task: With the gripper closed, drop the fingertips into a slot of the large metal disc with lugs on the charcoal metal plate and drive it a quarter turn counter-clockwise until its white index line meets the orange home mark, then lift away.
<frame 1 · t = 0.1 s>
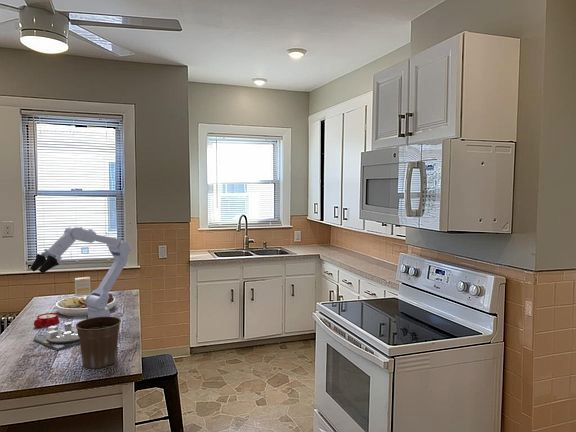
hand: (36, 270, 189), 32 cm above the table, tool tilted 50°, fingers open, 7 cm apart
metal disc with lugs: (67, 332, 196), point 3 cm above the table, hinge at 0.0°
supplement box: (82, 299, 264), on the table
alarm clock: (46, 325, 217), on the table
bowl: (86, 310, 243), on the table
plant pot: (99, 363, 171), on the table
mount plate: (67, 338, 197), on the table
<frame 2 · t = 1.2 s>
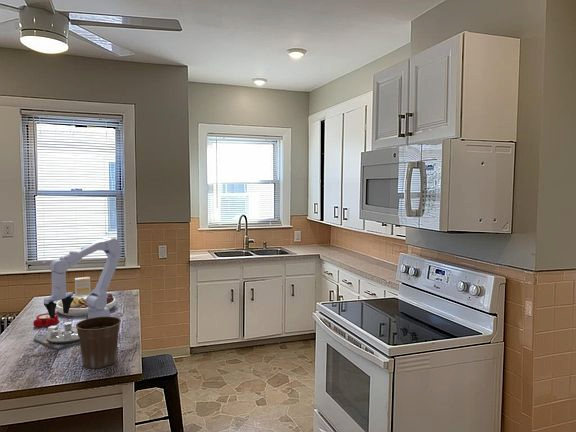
hand: (59, 315, 200), 9 cm above the table, tool pointing down, fingers open, 7 cm apart
nothing on the table moved.
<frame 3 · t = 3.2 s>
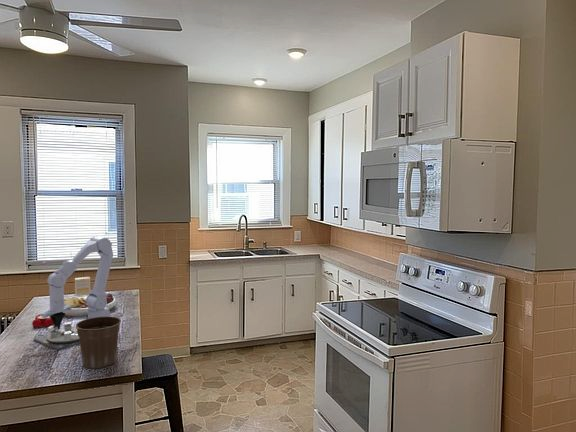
hand: (57, 329, 199), 3 cm above the table, tool pointing down, fingers closed, pressing on metal disc with lugs
metal disc with lugs: (67, 332, 196), point 3 cm above the table, hinge at 0.6°, touching gripper
everything else where it was.
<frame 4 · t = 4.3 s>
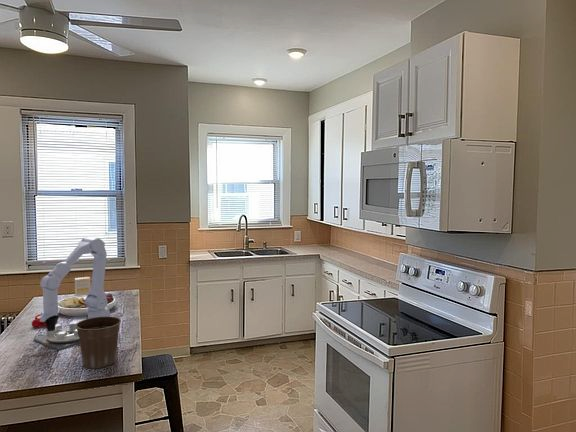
hand: (51, 332, 195), 3 cm above the table, tool pointing down, fingers closed, pressing on metal disc with lugs
metal disc with lugs: (67, 332, 196), point 3 cm above the table, hinge at 40.3°, touching gripper
everything else where it was.
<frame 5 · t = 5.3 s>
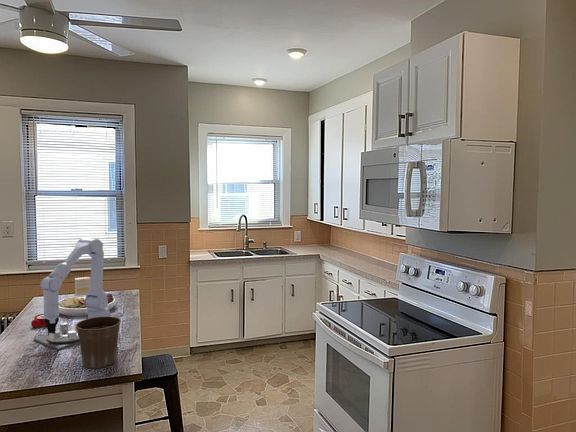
hand: (51, 335, 191), 3 cm above the table, tool pointing down, fingers closed, pressing on metal disc with lugs
metal disc with lugs: (67, 332, 196), point 3 cm above the table, hinge at 74.2°, touching gripper
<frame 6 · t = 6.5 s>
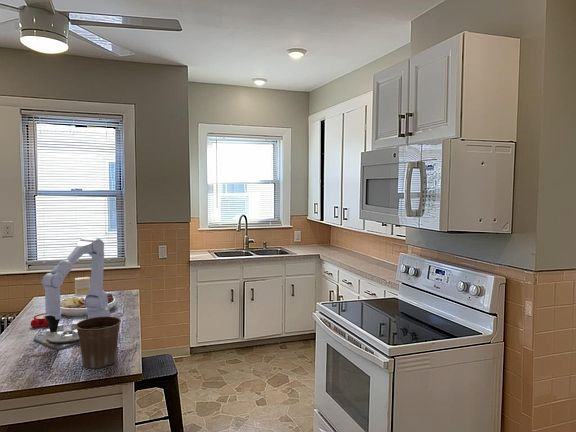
hand: (53, 331, 190), 5 cm above the table, tool pointing down, fingers closed
metal disc with lugs: (67, 332, 196), point 3 cm above the table, hinge at 92.9°
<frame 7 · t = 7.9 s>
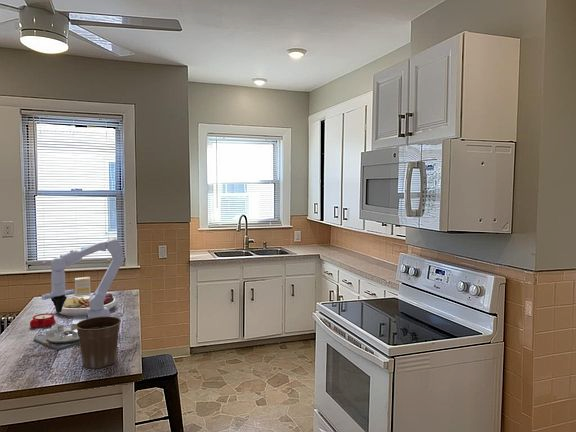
hand: (58, 311, 206), 9 cm above the table, tool pointing down, fingers closed
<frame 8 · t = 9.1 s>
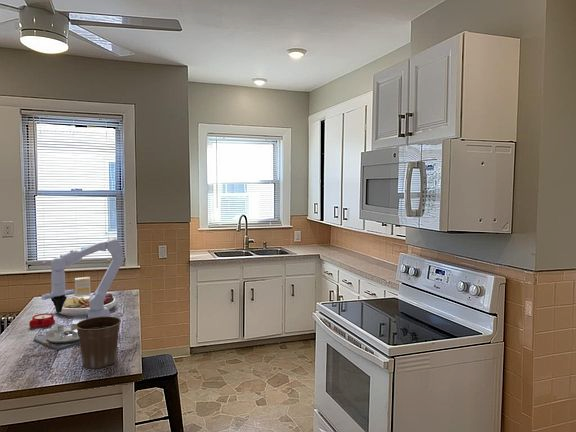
hand: (58, 311, 206), 9 cm above the table, tool pointing down, fingers closed
at the end: metal disc with lugs at +93° (first picture: +0°) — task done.
